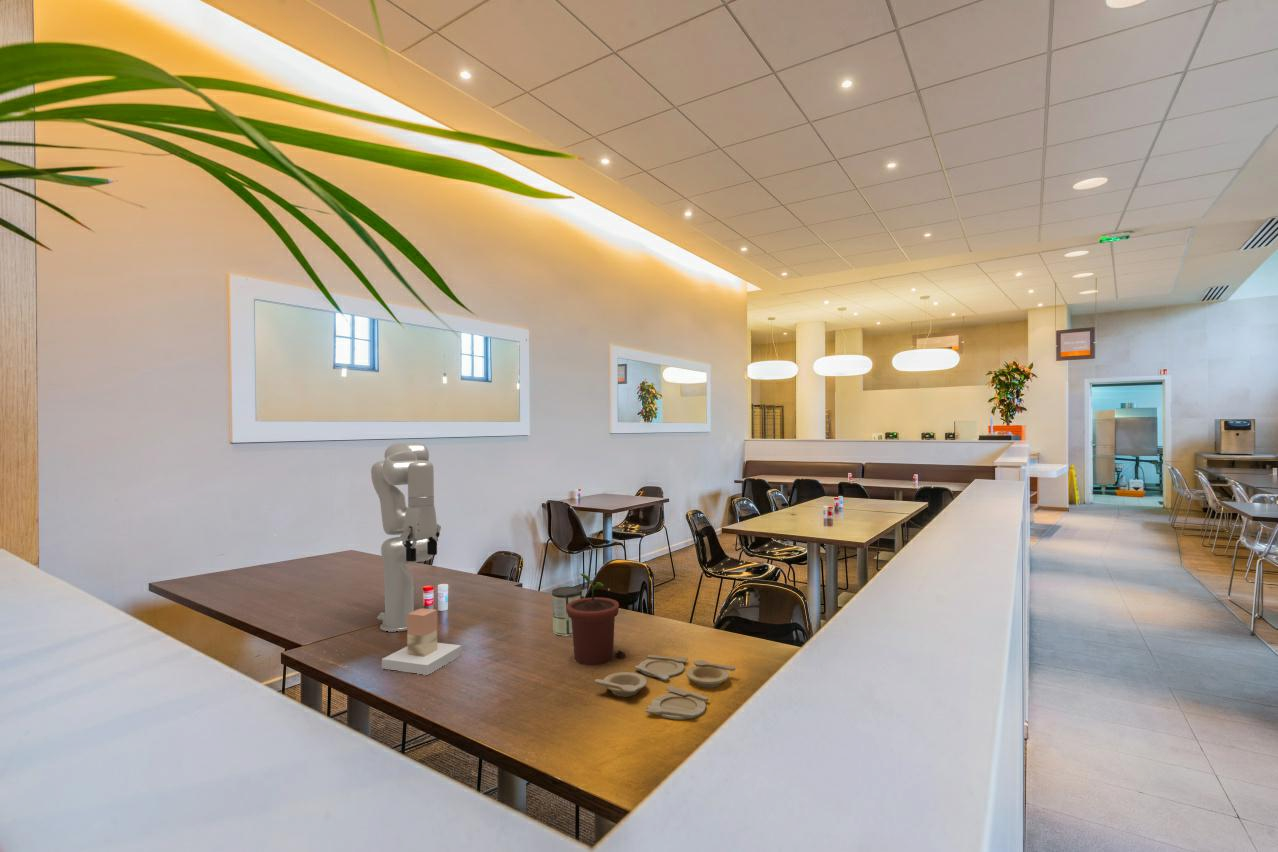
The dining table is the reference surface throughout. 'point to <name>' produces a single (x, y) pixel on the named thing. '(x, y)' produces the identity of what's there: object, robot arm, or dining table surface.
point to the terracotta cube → (422, 622)
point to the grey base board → (422, 659)
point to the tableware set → (679, 700)
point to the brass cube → (422, 644)
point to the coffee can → (563, 608)
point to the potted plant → (593, 628)
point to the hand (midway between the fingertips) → (421, 557)
